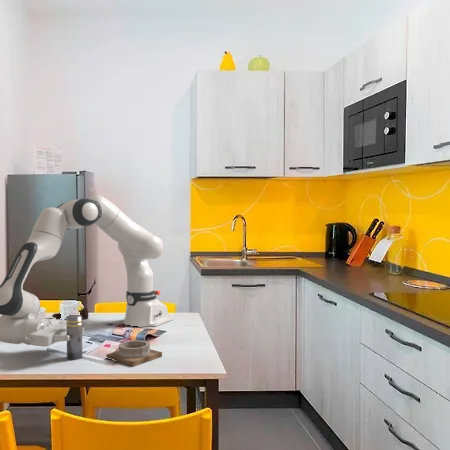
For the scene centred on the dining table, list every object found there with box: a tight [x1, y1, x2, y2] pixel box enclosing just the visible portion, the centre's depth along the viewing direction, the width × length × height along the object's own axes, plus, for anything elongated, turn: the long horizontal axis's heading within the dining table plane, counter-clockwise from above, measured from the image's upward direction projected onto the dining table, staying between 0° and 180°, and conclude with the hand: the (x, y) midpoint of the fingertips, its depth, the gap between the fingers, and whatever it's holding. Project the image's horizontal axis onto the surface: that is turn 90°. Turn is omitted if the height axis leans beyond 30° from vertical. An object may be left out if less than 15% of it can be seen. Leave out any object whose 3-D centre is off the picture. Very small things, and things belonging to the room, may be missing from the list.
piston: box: [66, 315, 83, 361], centre depth 168 cm, size 5×5×14 cm
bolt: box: [51, 306, 89, 320], centre depth 222 cm, size 6×5×15 cm
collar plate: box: [106, 339, 163, 368], centre depth 168 cm, size 13×13×4 cm
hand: (76, 334), depth 168 cm, fingers open, 8 cm apart
